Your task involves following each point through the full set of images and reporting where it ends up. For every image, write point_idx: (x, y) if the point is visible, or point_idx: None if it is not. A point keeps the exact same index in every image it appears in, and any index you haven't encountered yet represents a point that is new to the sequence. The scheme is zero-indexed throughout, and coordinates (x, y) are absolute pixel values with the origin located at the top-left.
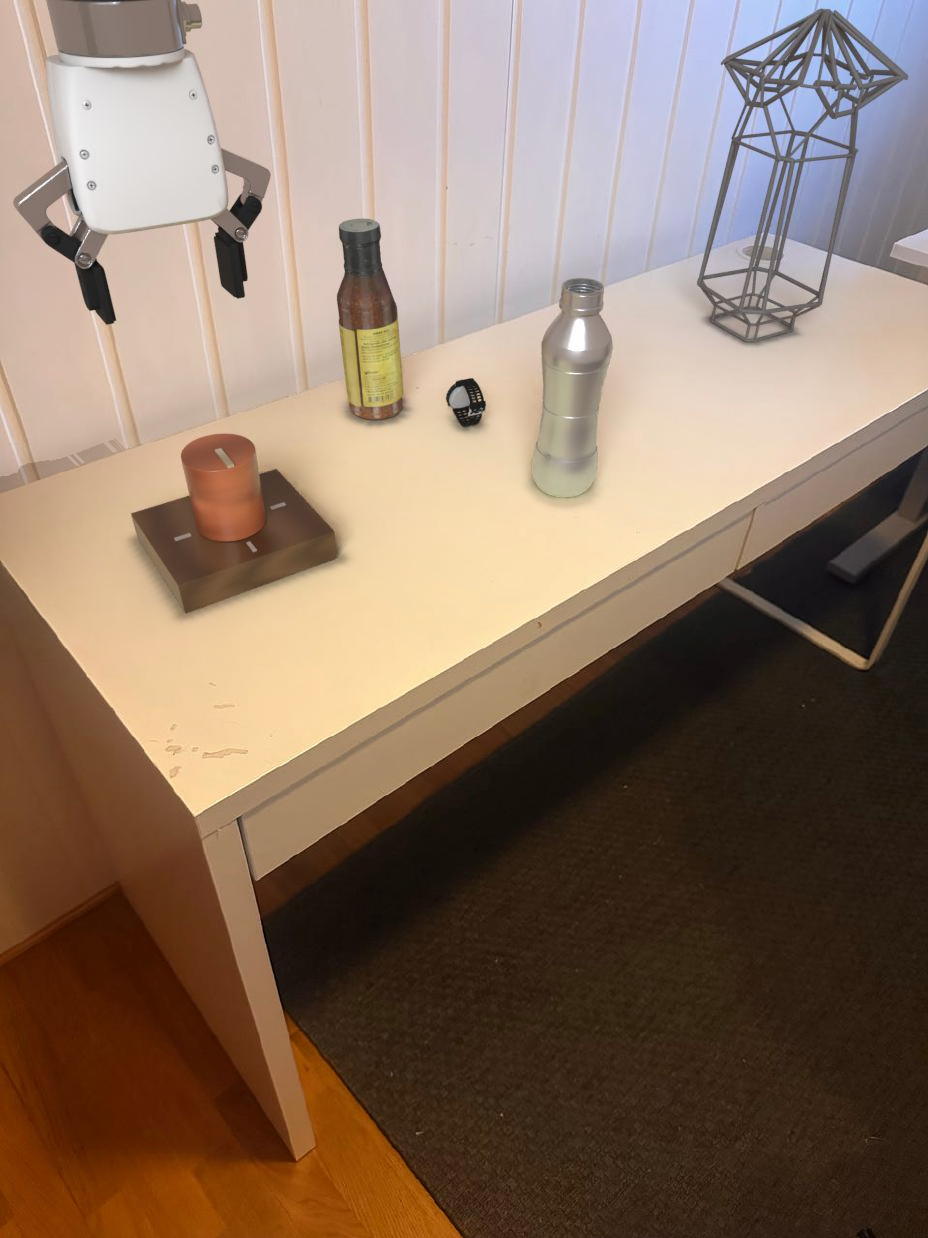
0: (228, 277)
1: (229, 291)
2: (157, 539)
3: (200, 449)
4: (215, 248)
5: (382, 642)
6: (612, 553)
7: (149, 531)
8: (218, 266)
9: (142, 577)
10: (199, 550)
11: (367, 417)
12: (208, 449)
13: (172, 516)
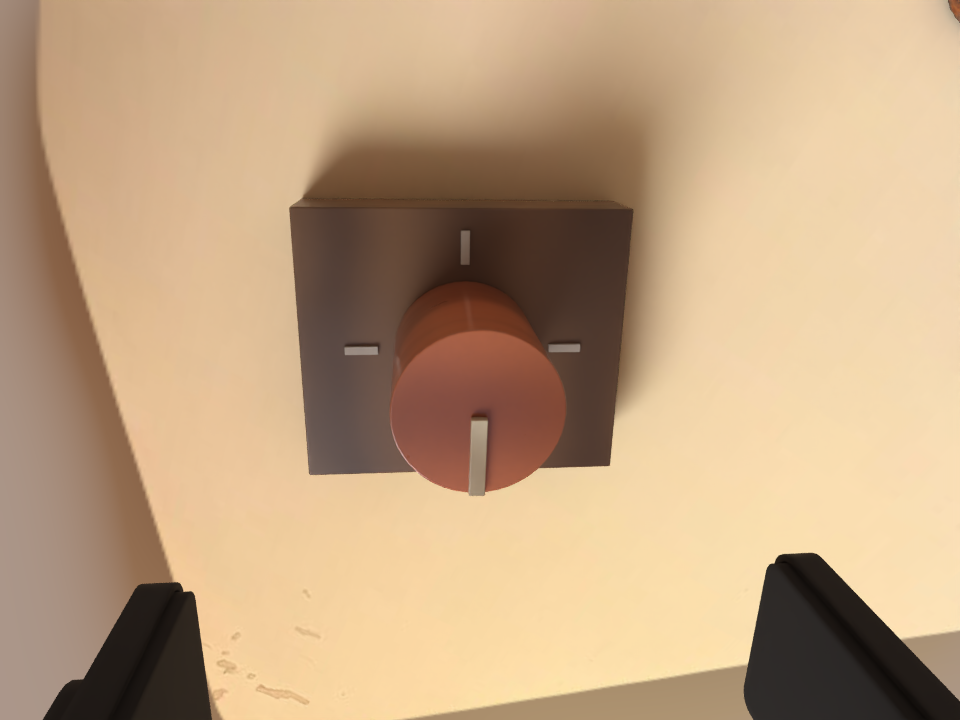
0: (789, 713)
1: (754, 653)
2: (314, 330)
3: (446, 384)
4: (885, 695)
5: (544, 623)
6: (922, 615)
7: (307, 294)
8: (821, 625)
9: (278, 317)
10: (376, 401)
11: (954, 11)
12: (463, 394)
13: (366, 268)
